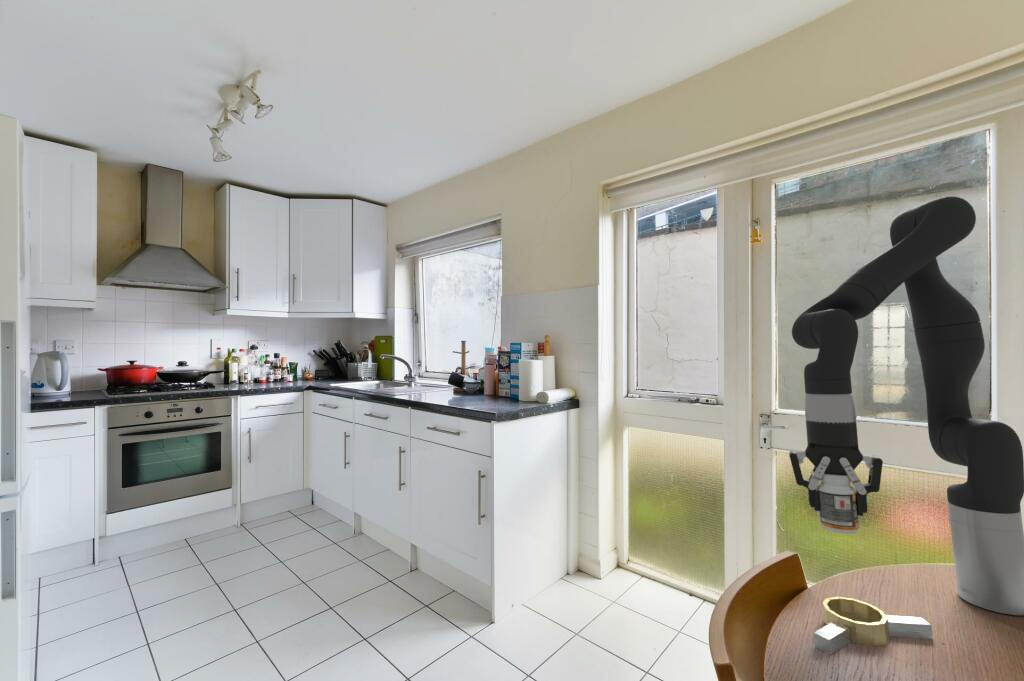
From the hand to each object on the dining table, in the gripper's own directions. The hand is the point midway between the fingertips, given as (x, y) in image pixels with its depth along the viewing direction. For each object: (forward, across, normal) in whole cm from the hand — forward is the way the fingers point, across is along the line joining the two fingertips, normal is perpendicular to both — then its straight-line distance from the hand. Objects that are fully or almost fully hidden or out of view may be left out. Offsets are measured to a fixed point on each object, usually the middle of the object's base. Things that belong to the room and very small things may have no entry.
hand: (837, 511), depth 78 cm
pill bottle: (+3, 0, 0) cm, 3 cm away
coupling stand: (+18, -1, +5) cm, 18 cm away
